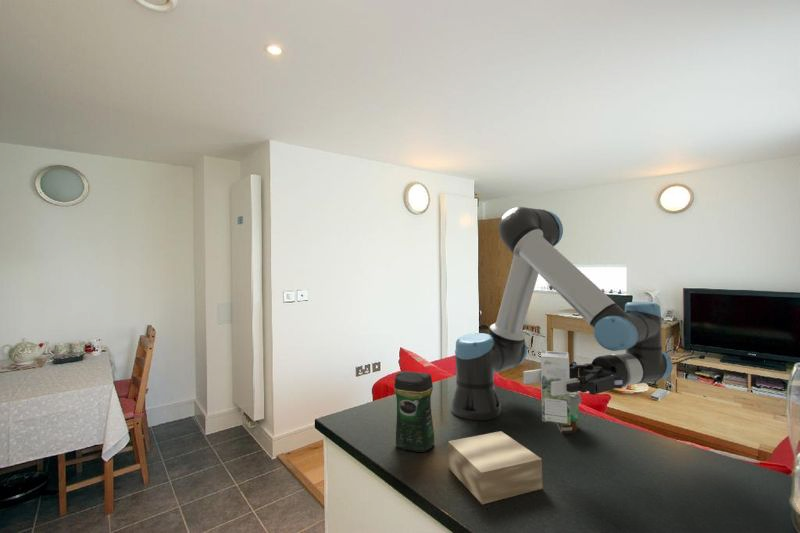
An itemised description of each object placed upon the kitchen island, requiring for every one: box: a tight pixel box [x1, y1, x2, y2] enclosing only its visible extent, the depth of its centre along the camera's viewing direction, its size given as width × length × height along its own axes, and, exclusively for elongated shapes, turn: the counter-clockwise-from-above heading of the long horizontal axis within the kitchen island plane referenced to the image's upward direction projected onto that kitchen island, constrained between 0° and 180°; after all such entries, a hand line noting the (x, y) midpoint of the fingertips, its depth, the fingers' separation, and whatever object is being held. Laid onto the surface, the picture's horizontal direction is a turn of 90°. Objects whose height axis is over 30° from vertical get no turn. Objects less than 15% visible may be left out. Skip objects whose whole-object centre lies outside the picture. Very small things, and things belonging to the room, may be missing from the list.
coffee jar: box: [393, 370, 435, 453], centre depth 96 cm, size 10×8×19 cm
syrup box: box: [540, 350, 570, 425], centre depth 82 cm, size 6×6×14 cm
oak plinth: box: [447, 430, 543, 505], centre depth 80 cm, size 14×14×6 cm
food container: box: [556, 391, 582, 435], centre depth 105 cm, size 12×6×10 cm, turn 168°
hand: (537, 383), depth 81 cm, fingers closed on syrup box, 8 cm apart
